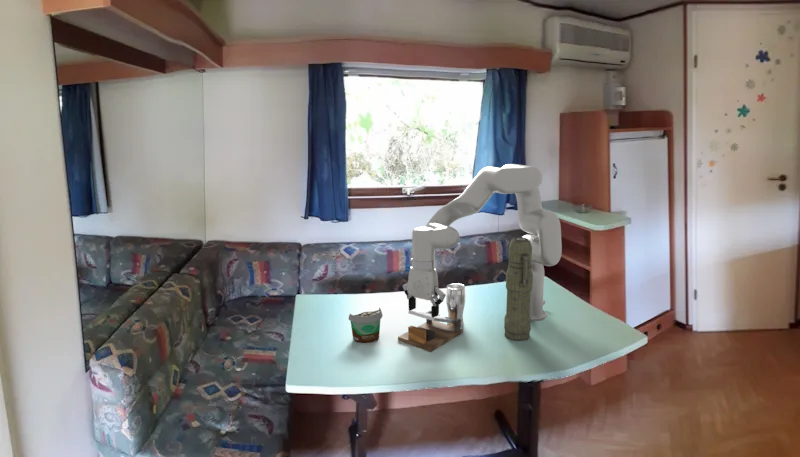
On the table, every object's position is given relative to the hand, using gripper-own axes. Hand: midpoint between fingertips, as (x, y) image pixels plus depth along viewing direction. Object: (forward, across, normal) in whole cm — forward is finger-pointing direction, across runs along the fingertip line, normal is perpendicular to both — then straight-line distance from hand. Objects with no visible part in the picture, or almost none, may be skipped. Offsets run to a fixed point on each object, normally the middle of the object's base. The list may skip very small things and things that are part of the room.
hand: (423, 312), depth 171 cm
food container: (+11, -15, -11) cm, 21 cm away
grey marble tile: (+4, 0, +5) cm, 7 cm away
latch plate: (+10, 0, +4) cm, 11 cm away
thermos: (+10, +23, +24) cm, 35 cm away
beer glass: (+10, +1, +18) cm, 21 cm away
